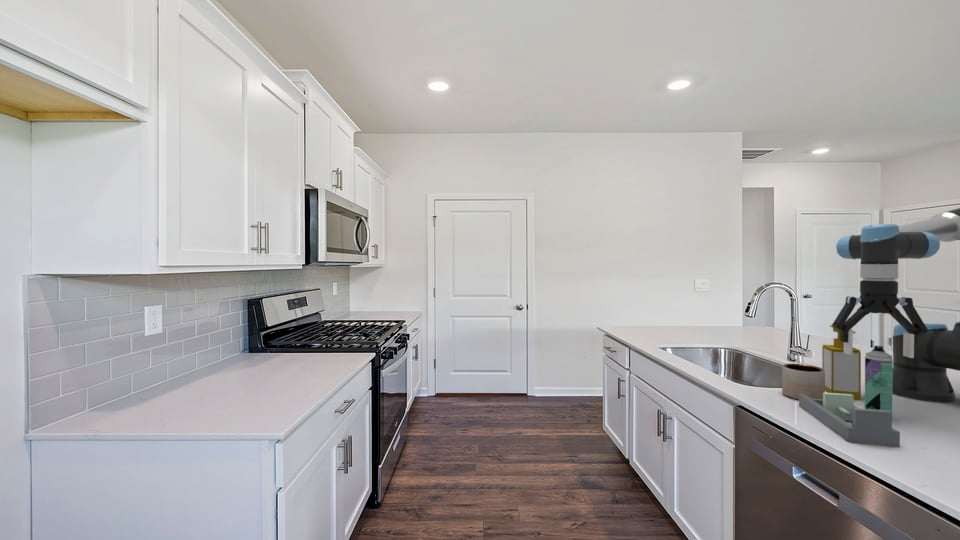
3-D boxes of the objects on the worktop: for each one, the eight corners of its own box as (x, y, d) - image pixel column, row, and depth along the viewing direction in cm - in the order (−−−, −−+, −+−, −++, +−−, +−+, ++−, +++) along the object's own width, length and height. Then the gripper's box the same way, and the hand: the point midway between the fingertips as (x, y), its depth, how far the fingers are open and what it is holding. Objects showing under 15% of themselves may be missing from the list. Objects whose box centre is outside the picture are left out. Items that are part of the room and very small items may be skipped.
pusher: (850, 419, 110) (850, 394, 109) (862, 427, 105) (862, 400, 104) (822, 417, 111) (822, 392, 111) (833, 424, 106) (833, 398, 106)
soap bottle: (839, 403, 123) (839, 327, 122) (822, 390, 134) (822, 321, 134) (869, 405, 120) (870, 328, 119) (849, 392, 132) (849, 322, 131)
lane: (838, 408, 118) (838, 381, 118) (899, 446, 94) (899, 413, 94) (799, 405, 121) (799, 379, 121) (848, 441, 97) (848, 409, 97)
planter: (815, 393, 132) (815, 364, 132) (832, 404, 122) (832, 373, 122) (776, 390, 136) (776, 362, 135) (790, 400, 125) (789, 370, 125)
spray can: (880, 413, 114) (880, 344, 114) (898, 420, 109) (898, 348, 108) (859, 412, 115) (859, 344, 114) (876, 420, 109) (876, 348, 109)
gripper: (925, 279, 111) (924, 355, 111) (817, 279, 118) (817, 349, 119) (947, 280, 104) (946, 361, 104) (832, 280, 111) (831, 355, 111)
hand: (877, 355), depth 111 cm, fingers open, 13 cm apart
